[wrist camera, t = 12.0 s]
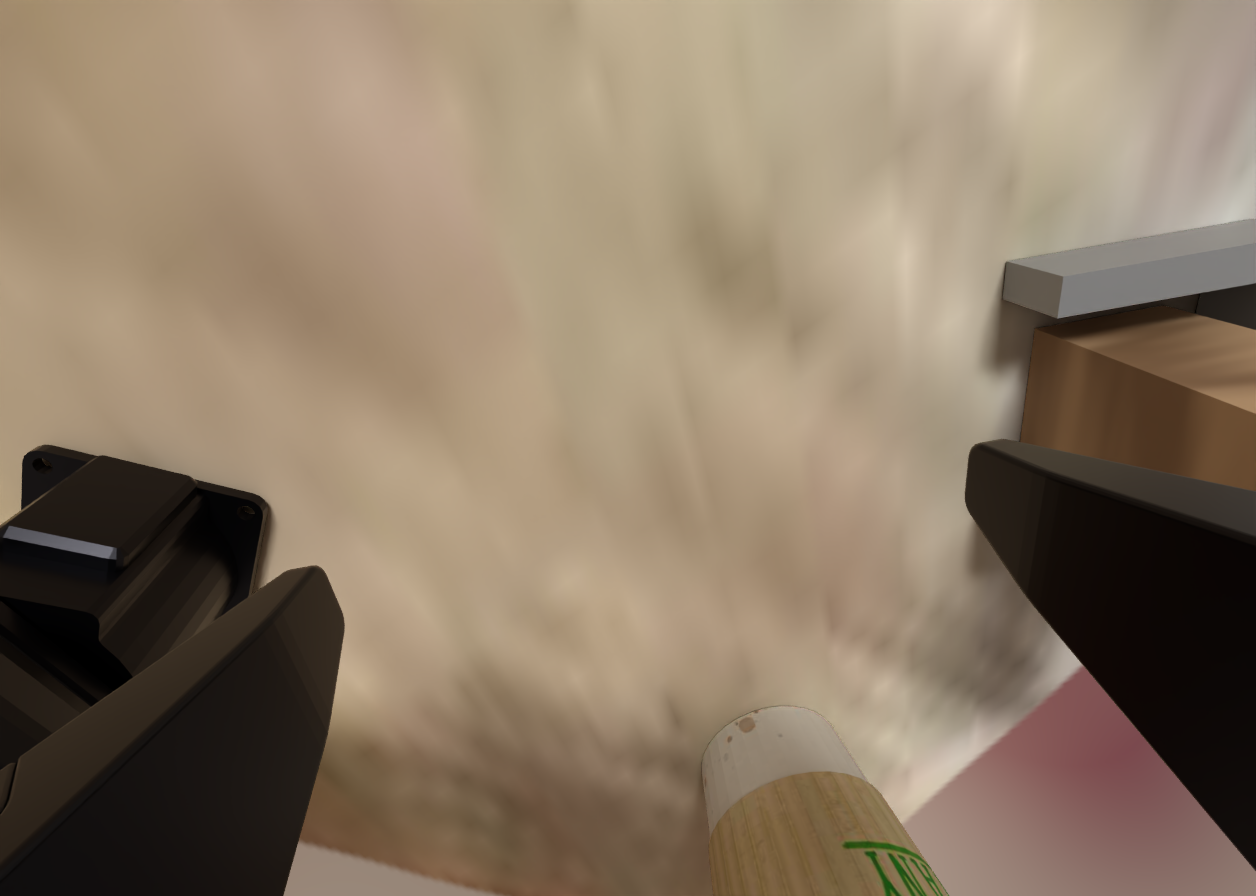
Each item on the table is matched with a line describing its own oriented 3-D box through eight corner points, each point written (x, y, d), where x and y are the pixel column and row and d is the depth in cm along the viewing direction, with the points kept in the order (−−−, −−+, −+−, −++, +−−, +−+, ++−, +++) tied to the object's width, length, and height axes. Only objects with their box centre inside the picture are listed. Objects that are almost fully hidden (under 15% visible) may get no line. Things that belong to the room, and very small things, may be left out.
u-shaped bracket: (978, 514, 25) (1022, 552, 23) (1006, 261, 21) (1063, 276, 18) (1184, 475, 25) (1247, 508, 23) (1252, 218, 21) (1337, 228, 19)
